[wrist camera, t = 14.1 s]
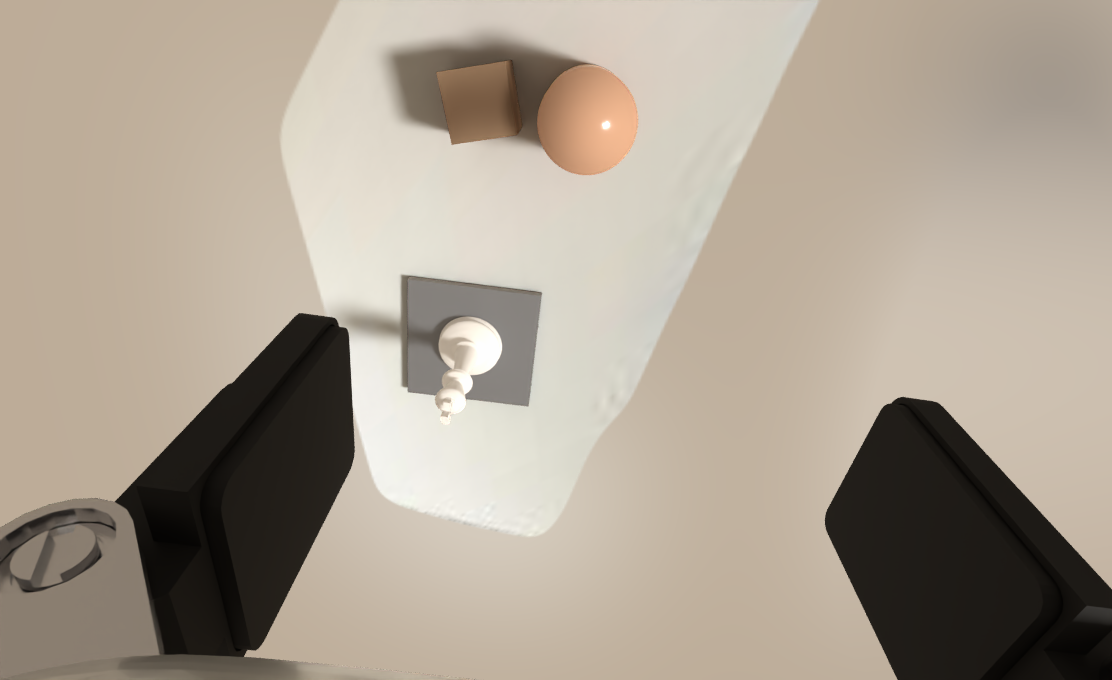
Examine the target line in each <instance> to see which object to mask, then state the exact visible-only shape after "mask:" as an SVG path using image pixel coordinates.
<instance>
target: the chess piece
mask: <svg viewBox="0 0 1112 680" xmlns="http://www.w3.org/2000/svg"><path fill="white" fill-rule="evenodd" d="M439 352H440V355H441V357H442V359H443V361H444V362H445V363H446V364H447V365H448V366H449V367H450V368H451V369H450V370H448V371H447V372H445V374H444V375H443V377H442V385H443V387H444V388H442V389H441V390H440V391H439V392H438V393H437V395H436V398H435V402H436V405H437V407H438V408H439V409H440V410H441V411H443V412H442V414H441V422H442V424H446V425H449V423H450V417H451V414H456V413H459V412H460V411H462V410H463V409H464V407H465V405H466V398H465V394H466V393H468V392H469V391H470V390H471V388H472V385H473V381H472V378H471V376H470V375H478V374H482V373H485V372H487V371H488V370H490V369H491V368H492V367H493V366H494V365H495V364H496V363H497V361H498V359H499V357H500V355H501V352H502V342H501V338H500V336H499V334H498V332H497V331H496V329H495V328H494V327H493V326H492V325H491V324H489V323H488V322H486V321H484V320H482V319H480V318H476V317H469V316H467V317H460V318H456V319H454V320H452V321H450V322H449V323H448V324H447V325H446V326H445V327H444V328H443V330H442V332H441V334H440V338H439Z"/></svg>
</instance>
